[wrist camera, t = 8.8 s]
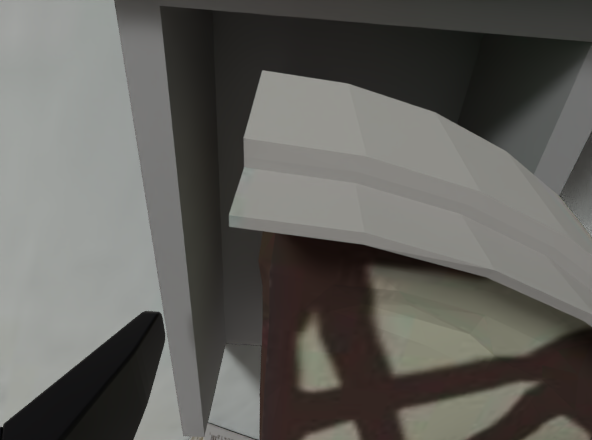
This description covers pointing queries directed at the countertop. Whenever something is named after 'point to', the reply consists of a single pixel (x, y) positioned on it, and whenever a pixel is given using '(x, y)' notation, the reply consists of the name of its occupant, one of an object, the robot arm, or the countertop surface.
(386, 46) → the green block on stand
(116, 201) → the countertop surface
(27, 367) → the countertop surface
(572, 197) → the countertop surface
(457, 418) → the food container
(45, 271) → the countertop surface
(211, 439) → the coffee box
